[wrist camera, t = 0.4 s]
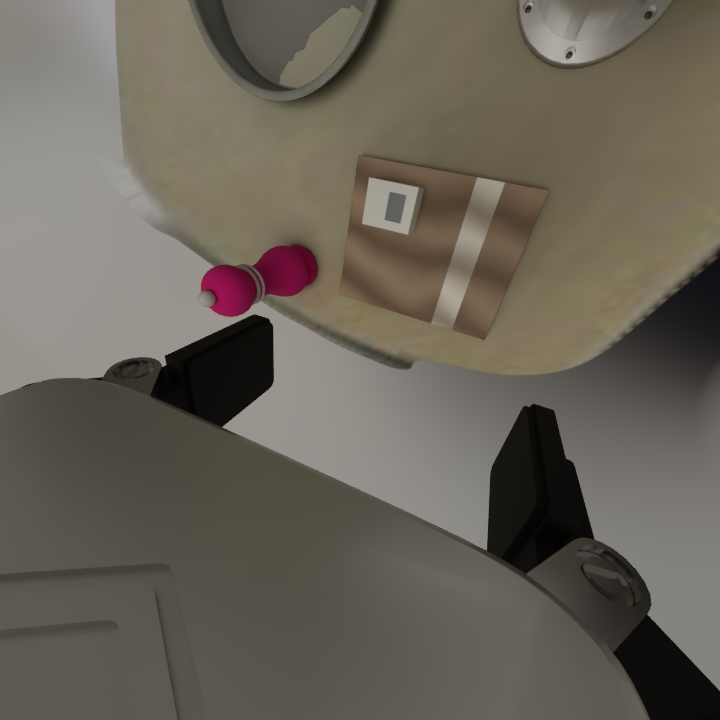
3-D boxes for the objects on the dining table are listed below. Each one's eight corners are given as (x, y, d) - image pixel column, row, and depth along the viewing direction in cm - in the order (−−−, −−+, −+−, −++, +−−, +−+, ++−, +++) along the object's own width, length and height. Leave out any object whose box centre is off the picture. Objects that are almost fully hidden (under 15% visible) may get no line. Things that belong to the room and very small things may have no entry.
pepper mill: (278, 241, 49) (165, 265, 33) (318, 242, 46) (217, 267, 30) (285, 287, 52) (186, 328, 36) (322, 289, 50) (234, 336, 33)
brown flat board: (363, 156, 39) (358, 155, 38) (547, 190, 33) (549, 190, 32) (343, 291, 48) (339, 294, 47) (485, 335, 43) (484, 340, 42)
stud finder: (377, 178, 38) (369, 177, 35) (424, 187, 36) (418, 187, 34) (370, 221, 41) (361, 223, 38) (413, 232, 39) (407, 234, 37)
